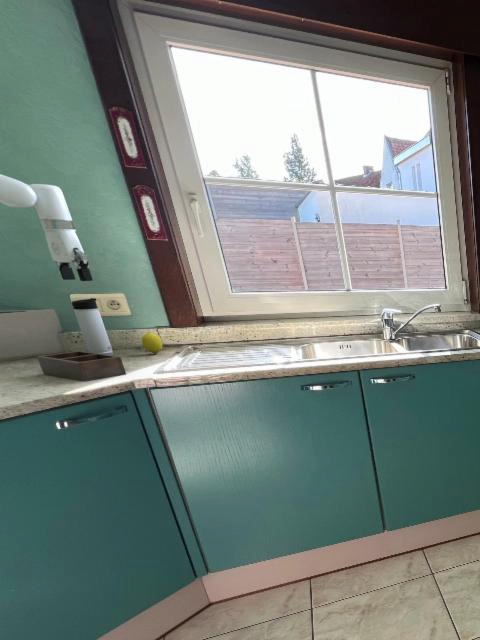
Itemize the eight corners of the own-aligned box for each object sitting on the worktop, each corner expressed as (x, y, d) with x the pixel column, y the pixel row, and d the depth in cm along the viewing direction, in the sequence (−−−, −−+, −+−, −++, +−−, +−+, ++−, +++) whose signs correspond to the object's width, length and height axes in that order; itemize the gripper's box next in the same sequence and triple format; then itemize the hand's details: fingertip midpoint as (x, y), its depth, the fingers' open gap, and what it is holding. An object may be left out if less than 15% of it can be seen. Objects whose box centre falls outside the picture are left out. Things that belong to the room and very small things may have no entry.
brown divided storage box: (84, 381, 147) (77, 362, 144) (43, 374, 153) (36, 356, 151) (126, 374, 156) (120, 356, 154) (86, 367, 162) (80, 350, 160)
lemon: (149, 356, 181) (142, 334, 178) (143, 354, 184) (136, 332, 181) (167, 353, 185) (161, 332, 182) (161, 352, 188) (155, 331, 185)
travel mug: (118, 355, 181) (99, 298, 173) (95, 358, 175) (75, 300, 168) (109, 353, 183) (90, 297, 176) (86, 356, 178) (66, 298, 170)
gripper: (28, 225, 163) (48, 279, 169) (59, 226, 157) (79, 282, 164) (57, 226, 169) (76, 278, 176) (88, 227, 164) (107, 280, 170)
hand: (78, 280), depth 170 cm, fingers open, 9 cm apart
